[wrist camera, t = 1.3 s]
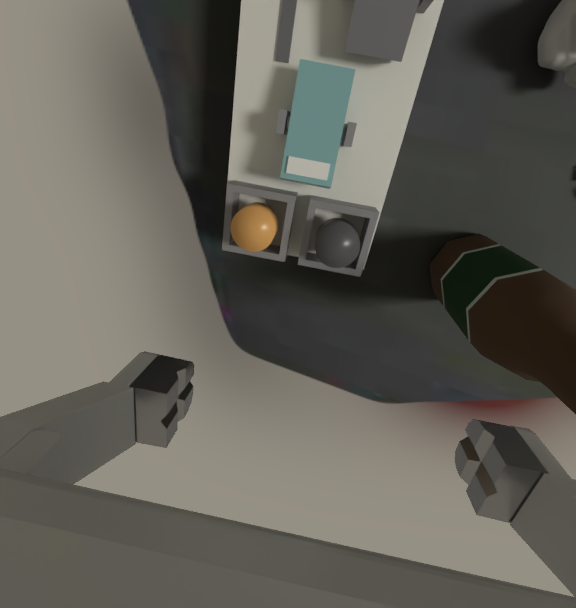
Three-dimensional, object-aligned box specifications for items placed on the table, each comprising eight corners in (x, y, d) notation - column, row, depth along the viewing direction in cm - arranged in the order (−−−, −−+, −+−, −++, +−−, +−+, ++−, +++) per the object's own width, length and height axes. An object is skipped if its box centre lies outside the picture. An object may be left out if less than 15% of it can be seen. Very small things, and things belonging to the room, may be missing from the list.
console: (268, -165, 22) (248, -279, 16) (469, -129, 22) (524, -231, 16) (233, 232, 35) (214, 250, 29) (359, 256, 35) (367, 280, 29)
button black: (320, 214, 27) (320, 220, 25) (362, 222, 27) (365, 229, 25) (311, 254, 29) (311, 263, 27) (351, 261, 29) (353, 271, 27)
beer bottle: (416, 295, 36) (550, 516, 15) (438, 226, 33) (654, 386, 11) (487, 304, 36) (727, 544, 14) (516, 236, 32) (893, 419, 11)
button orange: (239, 198, 27) (232, 203, 25) (281, 206, 27) (277, 212, 25) (236, 239, 29) (228, 247, 27) (275, 246, 29) (270, 255, 27)
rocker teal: (297, 67, 24) (297, 57, 23) (355, 78, 24) (358, 68, 23) (279, 179, 26) (277, 176, 25) (332, 189, 26) (333, 187, 25)
